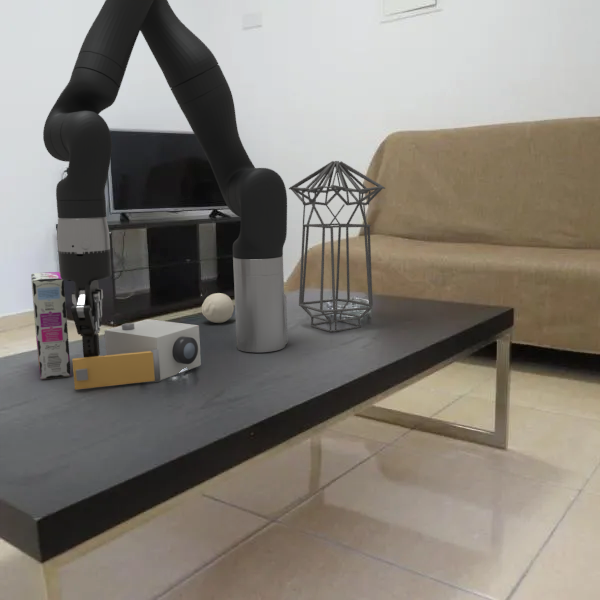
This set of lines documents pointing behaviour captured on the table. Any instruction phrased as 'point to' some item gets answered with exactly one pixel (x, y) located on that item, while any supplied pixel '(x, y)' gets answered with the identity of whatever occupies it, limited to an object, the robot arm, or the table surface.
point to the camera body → (158, 343)
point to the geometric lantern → (324, 172)
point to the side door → (116, 369)
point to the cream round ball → (217, 308)
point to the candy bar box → (51, 325)
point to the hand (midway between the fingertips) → (91, 357)
